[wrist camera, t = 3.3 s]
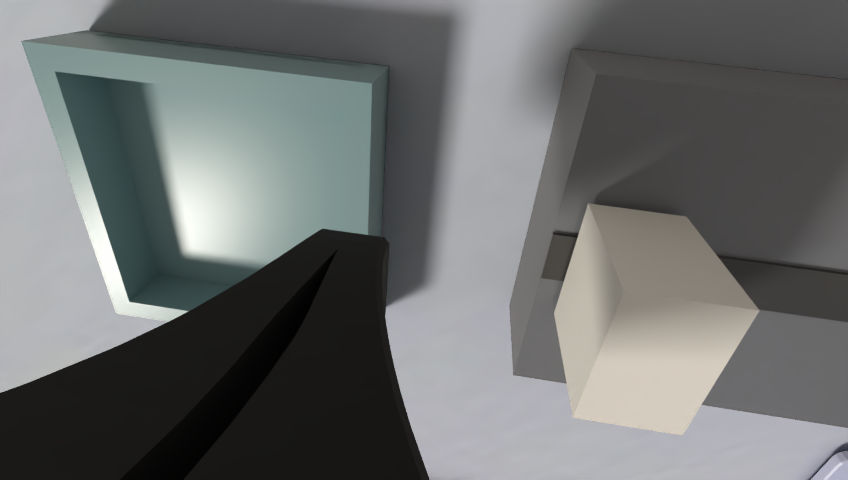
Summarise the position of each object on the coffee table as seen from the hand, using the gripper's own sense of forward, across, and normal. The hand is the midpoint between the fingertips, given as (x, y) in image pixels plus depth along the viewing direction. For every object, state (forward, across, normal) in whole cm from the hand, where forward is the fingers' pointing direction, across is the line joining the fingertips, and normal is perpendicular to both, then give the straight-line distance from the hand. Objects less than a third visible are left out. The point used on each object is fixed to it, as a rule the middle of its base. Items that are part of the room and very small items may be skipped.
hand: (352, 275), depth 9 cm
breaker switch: (+2, -6, 0) cm, 6 cm away
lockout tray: (+5, +4, +1) cm, 7 cm away
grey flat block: (+5, -9, 0) cm, 10 cm away
